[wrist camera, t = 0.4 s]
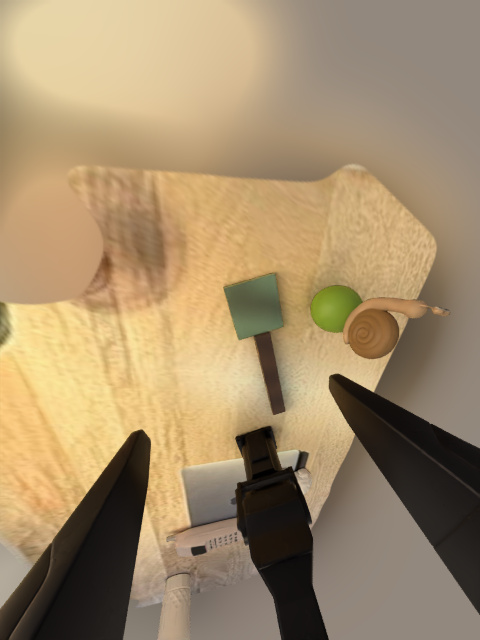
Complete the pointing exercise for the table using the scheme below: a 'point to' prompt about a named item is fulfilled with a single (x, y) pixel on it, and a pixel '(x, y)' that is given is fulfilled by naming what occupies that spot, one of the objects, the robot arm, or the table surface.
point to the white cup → (176, 609)
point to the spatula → (259, 326)
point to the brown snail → (364, 318)
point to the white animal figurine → (303, 479)
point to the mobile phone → (206, 537)
